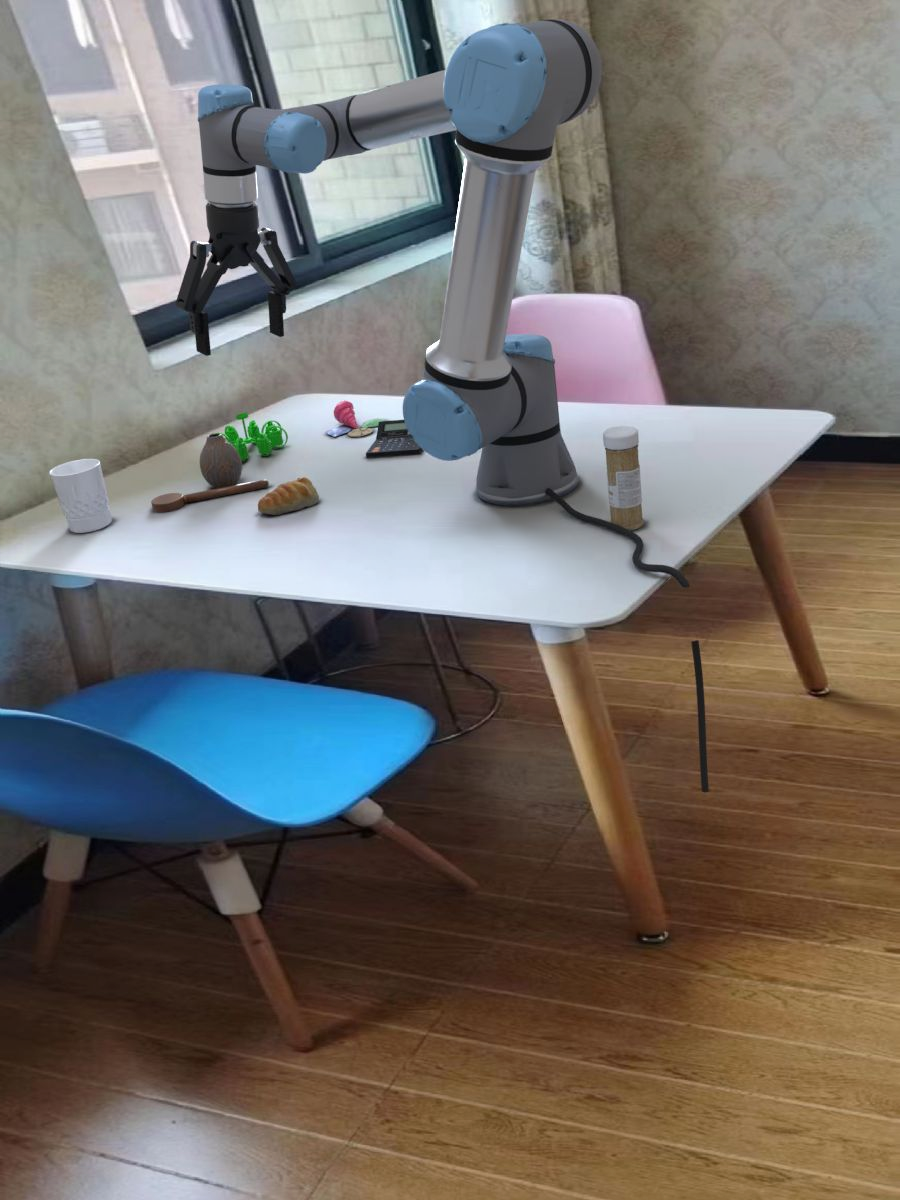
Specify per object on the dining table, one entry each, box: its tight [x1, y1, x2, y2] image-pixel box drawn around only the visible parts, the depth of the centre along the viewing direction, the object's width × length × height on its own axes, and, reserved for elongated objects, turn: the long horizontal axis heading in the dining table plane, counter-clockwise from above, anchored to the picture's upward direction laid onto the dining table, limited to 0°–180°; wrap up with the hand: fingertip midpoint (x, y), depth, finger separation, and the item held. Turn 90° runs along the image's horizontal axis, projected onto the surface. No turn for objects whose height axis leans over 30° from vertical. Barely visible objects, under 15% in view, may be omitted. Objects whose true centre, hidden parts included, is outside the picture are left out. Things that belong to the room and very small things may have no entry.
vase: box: [199, 432, 243, 489], centre depth 194 cm, size 7×7×9 cm
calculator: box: [365, 419, 423, 459], centre depth 202 cm, size 9×12×3 cm
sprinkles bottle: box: [602, 425, 645, 531], centre depth 152 cm, size 5×5×14 cm
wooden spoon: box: [150, 479, 270, 513], centre depth 190 cm, size 19×5×1 cm, turn 103°
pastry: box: [257, 476, 320, 516], centre depth 180 cm, size 9×7×4 cm
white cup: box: [48, 458, 113, 534], centre depth 184 cm, size 8×8×10 cm
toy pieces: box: [326, 400, 387, 438], centre depth 215 cm, size 12×11×4 cm
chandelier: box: [215, 412, 289, 463], centre depth 210 cm, size 15×15×7 cm
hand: (241, 343), depth 178 cm, fingers open, 13 cm apart
